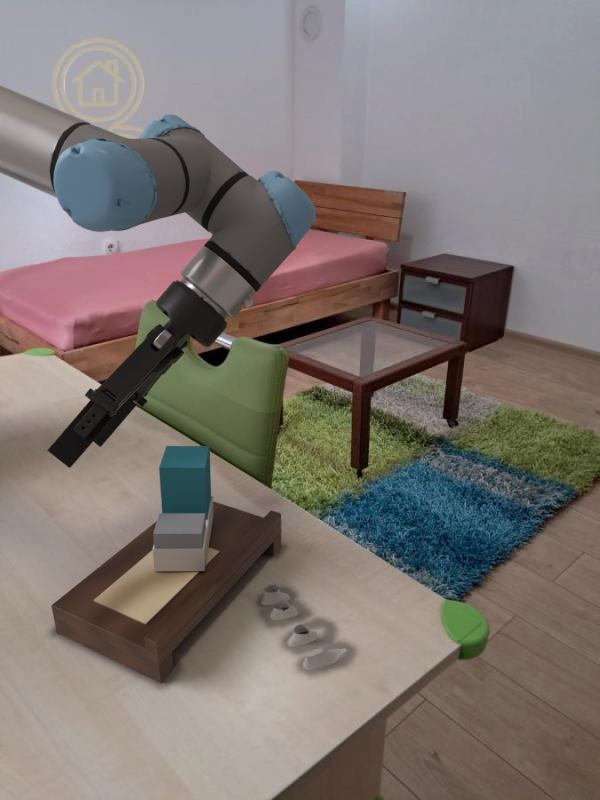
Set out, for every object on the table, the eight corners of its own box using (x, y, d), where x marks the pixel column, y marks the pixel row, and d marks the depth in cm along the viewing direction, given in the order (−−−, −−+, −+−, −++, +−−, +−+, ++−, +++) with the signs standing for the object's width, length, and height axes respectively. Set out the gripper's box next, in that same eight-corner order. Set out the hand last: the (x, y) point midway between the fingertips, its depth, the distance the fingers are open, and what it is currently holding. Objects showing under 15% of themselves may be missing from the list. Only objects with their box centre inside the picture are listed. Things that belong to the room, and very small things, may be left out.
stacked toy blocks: (168, 516, 80) (164, 445, 76) (213, 516, 80) (211, 445, 76) (154, 571, 70) (148, 493, 66) (205, 571, 70) (202, 493, 66)
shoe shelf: (57, 637, 67) (48, 593, 65) (192, 521, 87) (189, 484, 84) (161, 689, 62) (156, 643, 59) (281, 552, 81) (281, 513, 78)
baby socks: (255, 606, 72) (254, 588, 71) (296, 591, 74) (297, 573, 73) (306, 682, 62) (307, 663, 61) (352, 662, 65) (353, 643, 64)
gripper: (228, 316, 57) (74, 495, 57) (232, 326, 82) (125, 451, 81) (163, 260, 56) (7, 442, 56) (187, 288, 81) (79, 414, 81)
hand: (77, 448), depth 69 cm, fingers open, 13 cm apart
